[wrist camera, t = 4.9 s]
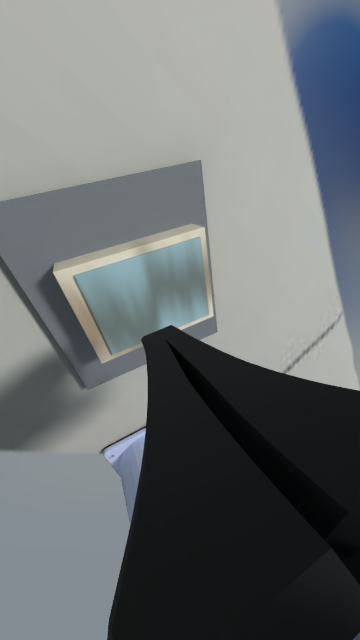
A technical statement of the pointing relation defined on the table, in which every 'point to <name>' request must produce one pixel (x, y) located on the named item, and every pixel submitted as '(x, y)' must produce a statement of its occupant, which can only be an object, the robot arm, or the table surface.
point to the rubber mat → (96, 247)
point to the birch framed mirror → (139, 288)
